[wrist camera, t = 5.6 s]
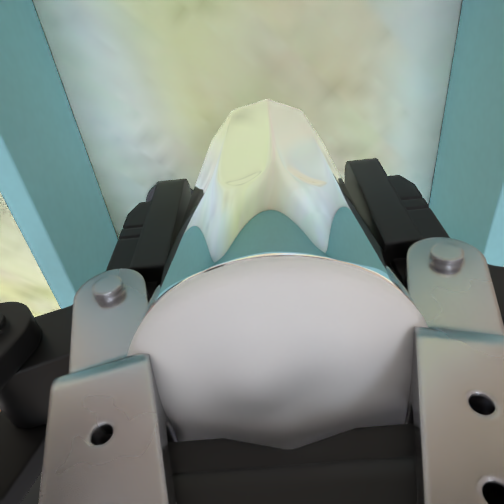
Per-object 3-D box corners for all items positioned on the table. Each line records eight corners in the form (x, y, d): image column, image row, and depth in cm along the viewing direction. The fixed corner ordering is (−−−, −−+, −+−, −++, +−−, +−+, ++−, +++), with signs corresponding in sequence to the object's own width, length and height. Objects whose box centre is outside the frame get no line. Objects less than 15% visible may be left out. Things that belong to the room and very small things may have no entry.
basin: (-55, -159, 14) (-208, -205, 9) (534, -247, 13) (700, -349, 8) (115, 276, 26) (85, 356, 21) (438, 247, 24) (486, 324, 20)
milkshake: (150, 187, 14) (8, 561, 6) (248, 36, 11) (241, 346, 3) (264, 253, 15) (279, 613, 7) (374, 136, 13) (584, 506, 5)
